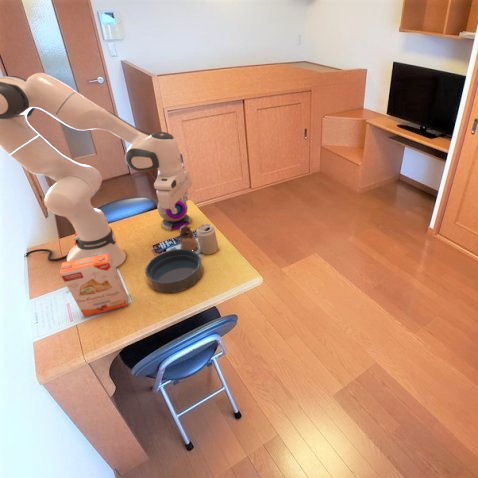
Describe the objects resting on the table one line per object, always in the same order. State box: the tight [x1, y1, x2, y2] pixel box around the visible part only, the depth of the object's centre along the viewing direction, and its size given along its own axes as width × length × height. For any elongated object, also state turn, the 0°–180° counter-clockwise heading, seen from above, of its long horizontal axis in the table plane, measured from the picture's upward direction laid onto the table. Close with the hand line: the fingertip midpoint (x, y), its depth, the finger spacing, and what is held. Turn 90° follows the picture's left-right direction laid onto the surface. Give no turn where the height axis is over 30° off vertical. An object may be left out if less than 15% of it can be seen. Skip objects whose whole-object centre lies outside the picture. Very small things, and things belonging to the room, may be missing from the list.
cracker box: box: [59, 253, 129, 318], centre depth 120 cm, size 14×6×21 cm, turn 114°
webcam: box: [157, 196, 192, 231], centre depth 166 cm, size 13×13×15 cm
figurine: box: [178, 224, 199, 252], centre depth 151 cm, size 7×7×12 cm
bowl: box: [144, 248, 204, 294], centre depth 138 cm, size 20×20×6 cm
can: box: [195, 223, 219, 255], centre depth 150 cm, size 8×8×12 cm
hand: (180, 206), depth 141 cm, fingers open, 8 cm apart
